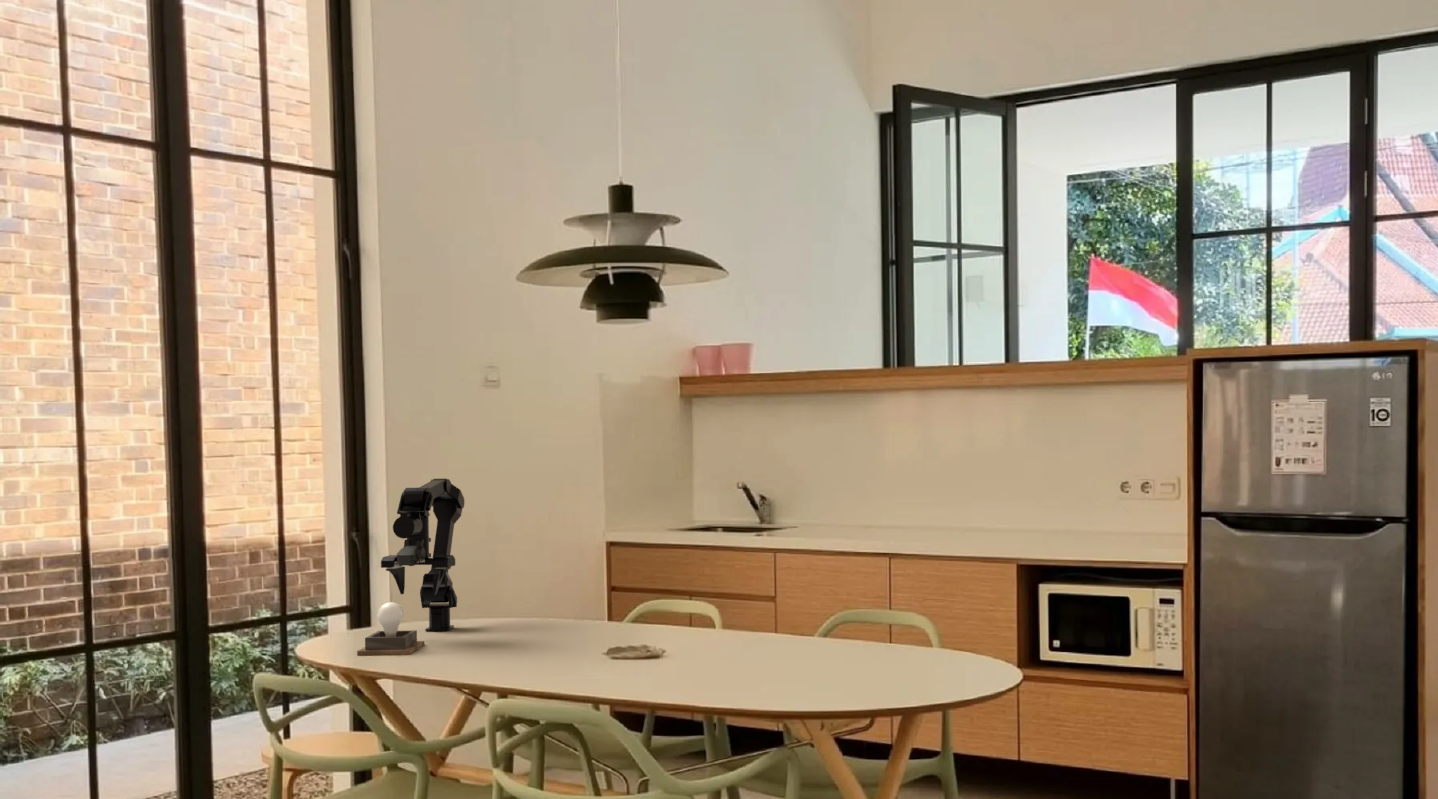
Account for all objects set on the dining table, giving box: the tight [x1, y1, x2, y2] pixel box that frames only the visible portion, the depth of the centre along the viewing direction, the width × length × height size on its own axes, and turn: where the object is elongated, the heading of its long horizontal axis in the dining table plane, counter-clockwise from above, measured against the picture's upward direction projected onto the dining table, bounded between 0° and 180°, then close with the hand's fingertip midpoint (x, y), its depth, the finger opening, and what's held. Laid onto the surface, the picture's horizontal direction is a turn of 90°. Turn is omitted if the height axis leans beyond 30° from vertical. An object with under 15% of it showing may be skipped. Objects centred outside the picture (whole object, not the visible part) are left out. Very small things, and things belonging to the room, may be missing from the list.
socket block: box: [356, 630, 425, 656], centre depth 300 cm, size 13×13×4 cm
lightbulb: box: [377, 601, 405, 637], centre depth 301 cm, size 6×6×11 cm
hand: (418, 594), depth 314 cm, fingers open, 9 cm apart
